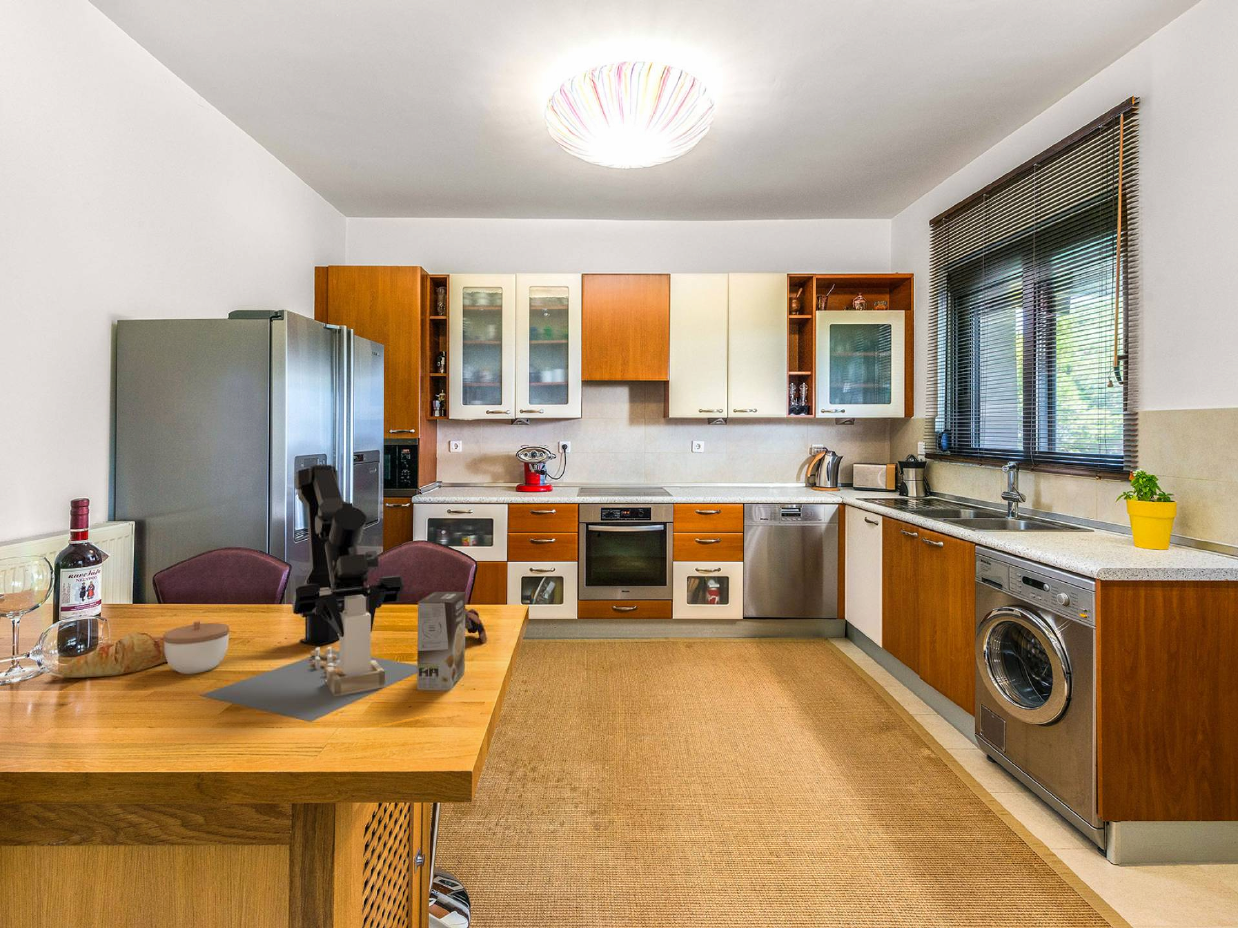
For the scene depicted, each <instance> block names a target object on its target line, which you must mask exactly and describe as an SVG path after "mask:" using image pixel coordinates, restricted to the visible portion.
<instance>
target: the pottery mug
mask: <svg viewBox="0 0 1238 928" xmlns="http://www.w3.org/2000/svg"><path fill="white" fill-rule="evenodd" d="M466 629H467V633H468V634H476V633H477V632H478V633H477V634H478V638H479V639H481V644H482V645H484V644H485V643H486V642H487V640H488V637H487V634H486V629H485V628H484V624H483V622H482V620H481V619H480V615H479V613H478V611H477V610H475V609H473V608H471V609H469V610H468V609H467V608H465V630H466Z"/></svg>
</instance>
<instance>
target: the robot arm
mask: <svg viewBox="0 0 1238 928" xmlns="http://www.w3.org/2000/svg"><path fill="white" fill-rule="evenodd" d="M338 475H339V474H338V470H337V469H336V467H335V465H332V464H312V465H311V466H310V465H309V466H308V467H307V468H301V469H299V470H298V471H297V472H296V473H295V475H294V489H295V490H297V495H298V500H299V501H300V502H301V503H302V504H303V506H304V507H305V508H306V515H307V518H306V519H307V533H308V535H307V536H308V547H309V548H308V549H309V550H308V551H309V565H310V566H309V567H310V568H309V569H310V572H309V573H308V574H307V575H308V576H307V577H306V579H305V581H304V582H303V584H298V585H296V587H295V588H294V590H293V596H292V613H293V615H294V614H295V615H300V617H301V618H305V623H304V625H305V626H304V627H305V630H304V631H305V633H304V638H301V639H299V640H298V642H299V643H302V644H309V645H314V646H318V647H319V646H323V645H326V644H329V643H333V642H335V641H338V640H339V641H340V637H343V636H344V629H343V624H342V620H341V616H340V612H345V596H353V595H363V596H364V597H366V611H367V612H368V613H370V614H371V633H372V632H373V626H374V621H375V615H376V609H380V608H381V607H382V606H383V605H386V604H396V603H397V602H399V601H400V599H401V596H402V593H403V590H404V588H405V583H404V579H403V578H402V577H401V576H400V575H390V576H389V575H388V576H380V578H379V581H378V583H377V584H374V585H373V584H372V585H365V584H366V583H367V582H368V579H369V578H368V573H369V572H370V571H371V570H372V571H373V570H376V569H377V568H378V567H379V556H378V553H377V550H368V551H366V552H365V553H362V554H359V549H358V545H360V543H361V540H362V537H363V534H364V530H365V526H366V522H367V514H365V513H364V511H362V510H361V509H359V508H357V507H354V505H353V503H352V502H346V501H345V500H343V497H342V493H341V491H340V490H341V489H340V488H339V479H338V477H339V476H338Z"/></svg>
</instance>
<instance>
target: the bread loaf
mask: <svg viewBox="0 0 1238 928" xmlns="http://www.w3.org/2000/svg"><path fill="white" fill-rule="evenodd" d="M164 663H168V662H167V660H166V657H165V653H164V641H163V636H151V635H149V634H148V633H145V632H137V631H136V632H132V633H129V634H128V635H125V636H124V637H121V638H119V639H118V641H116V642H112V643H108V644H104V645H101V646H99V647H97V648H96V649H95V650H94V651H90V652H89V653H87V654H83V655H79V656H77V657H75V658H74V659H72V660H71V661H70V662H69V663H66V664H63V665H59V667H58V668H57V670H56V672H57V674H58V676H61V677H63V678H93V677H94V678H97V677H109V676H120V675H125V674H126V675H127V674H128V673H135V672H139V671H143V670H146V669H150V668H152V667H155V666H158V665H161V664H164Z"/></svg>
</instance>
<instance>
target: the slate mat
mask: <svg viewBox="0 0 1238 928" xmlns="http://www.w3.org/2000/svg"><path fill="white" fill-rule="evenodd" d="M322 653H327V650H326V651H324V652H322ZM332 655H337V659H336V660H333V663H334V664H336V661H338V660H340V650H339V651H338V650H333V649H332ZM312 660H315V657H314V656H309V657H306V658H302V659H299V660H297V661H295V662H292V663H289V664H285V665H282V666H280V667H277V668H274V669H271V670H268V671H265V672H263V673H262V672H261V673H259V674H257V675H254V676H252V677H249V678H246V679H243V680H239V681H237V682H234V683H231V684H228V685H225V686H223V687H219V688H217V689H214V690H211V691H208V692H205V693H203V694H199V696H200V697H203V698H208V699H213V700H217V701H221V702H225V703H230V704H233V705H236V706H237V705H238V706H241V707H246V708H252V709H255V710H258V711H263V712H269V713H273V714H276V715H281V716H284V717H285V716H286V717H289V718H293V719H298V720H302V721H306V722H309V723H310V722H314V721H316V720H318V719H320V718H322V717H325V716H327V715H329V714H330V713H332V712H333V713H334V711H337V710H340V709H341V708H344V707H346V706H348V705H351V704H353V703H354V702H357V701H359V700H361V699H364V698H365V697H368V696H370V695H373V694H375V693H376V692H379V691H381V690H383V689H385V688H387V687H390V686H392V685H394V684H396V683H398V682H400V681H403V680H405V679H407V678H409V677H411V676H414V675H417V664H413V663H409V662H408V663H407V662H401V661H397V660H390V659H386V658H385V659H384V658H378V657H373V656H371V661H372V660H375V661H376V662H377V663H378V664H379V665H380V666H381V667H382V669H383V670H384V671H385V687H382V688H376V689H371V690H366V691H361V692H355V693H350V694H345V695H339V696H334V694H333V693H332V691H331V690H330V688H329V686H328V685H327V683H326V680H327V675H326V672H325V671H324V668H325V667H320V669H318V670H317V669H316V668H315V666H314V665H311V661H312ZM320 661H323V662H327V659H325V658H320ZM368 672H369V670H367V671H361V672H355V673H350V674H347V675H346V676H351V675H356V674H362V673H368ZM338 676H339V677H345V675H340V674H338Z"/></svg>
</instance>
